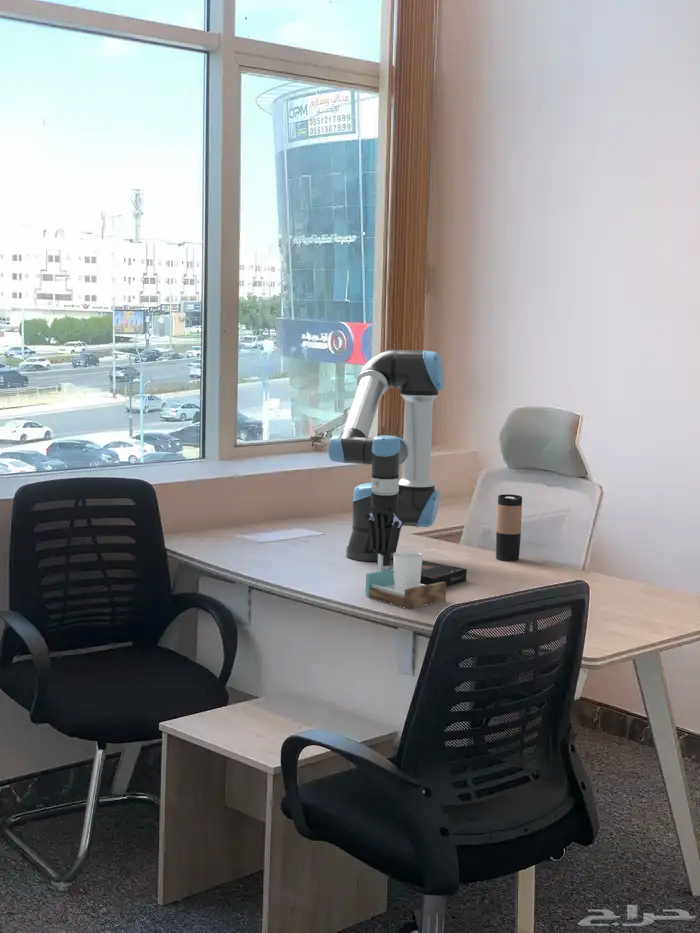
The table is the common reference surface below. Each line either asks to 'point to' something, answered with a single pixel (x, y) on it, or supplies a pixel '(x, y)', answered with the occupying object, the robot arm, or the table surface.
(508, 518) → the travel mug
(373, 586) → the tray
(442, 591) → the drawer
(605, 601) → the table surface
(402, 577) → the white cup
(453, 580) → the portable cd player
